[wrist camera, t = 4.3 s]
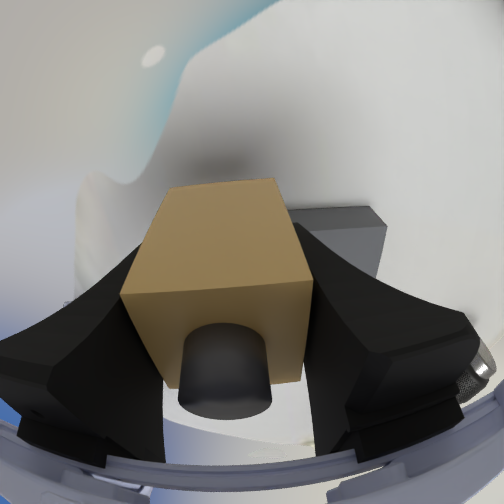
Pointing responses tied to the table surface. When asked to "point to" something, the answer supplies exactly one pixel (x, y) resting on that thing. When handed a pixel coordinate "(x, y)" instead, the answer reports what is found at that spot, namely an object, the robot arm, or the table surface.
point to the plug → (222, 296)
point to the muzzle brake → (476, 374)
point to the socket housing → (347, 233)
